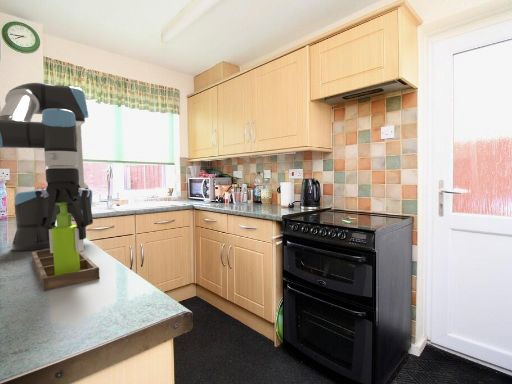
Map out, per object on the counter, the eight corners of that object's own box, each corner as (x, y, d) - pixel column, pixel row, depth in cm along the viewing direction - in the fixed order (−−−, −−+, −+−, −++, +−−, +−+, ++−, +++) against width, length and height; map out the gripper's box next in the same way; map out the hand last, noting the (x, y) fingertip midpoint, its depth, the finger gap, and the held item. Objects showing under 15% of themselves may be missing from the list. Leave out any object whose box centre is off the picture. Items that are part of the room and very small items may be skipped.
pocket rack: (32, 260, 99) (31, 251, 98) (75, 253, 107) (74, 245, 107) (43, 291, 72) (43, 279, 72) (99, 278, 80) (98, 267, 80)
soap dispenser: (88, 270, 83) (83, 200, 81) (63, 278, 76) (58, 203, 75) (75, 267, 85) (70, 200, 84) (50, 275, 79) (44, 202, 77)
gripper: (15, 168, 74) (21, 256, 76) (91, 167, 76) (96, 254, 77) (35, 168, 82) (41, 249, 83) (104, 167, 83) (108, 246, 85)
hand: (67, 251), depth 80 cm, fingers open, 6 cm apart
